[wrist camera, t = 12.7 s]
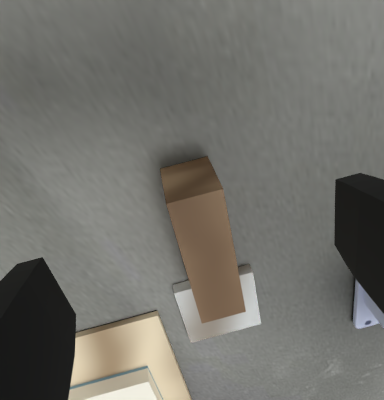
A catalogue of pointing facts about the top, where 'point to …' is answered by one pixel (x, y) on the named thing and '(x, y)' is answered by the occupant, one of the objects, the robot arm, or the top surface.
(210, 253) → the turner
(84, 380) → the tan flat rectangular piece
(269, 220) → the top surface
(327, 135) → the top surface
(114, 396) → the tile
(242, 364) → the top surface
